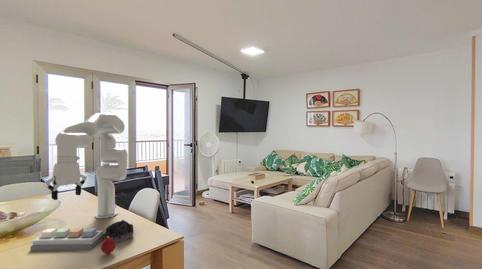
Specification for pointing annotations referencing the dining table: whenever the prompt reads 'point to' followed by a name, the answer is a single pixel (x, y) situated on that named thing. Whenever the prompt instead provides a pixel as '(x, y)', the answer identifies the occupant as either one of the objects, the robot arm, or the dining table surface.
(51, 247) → the keypad board
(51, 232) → the key ivory
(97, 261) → the dining table surface
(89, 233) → the key slate
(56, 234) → the key sage
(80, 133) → the robot arm
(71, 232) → the key terracotta
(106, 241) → the onion
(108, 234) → the crystal cluster
